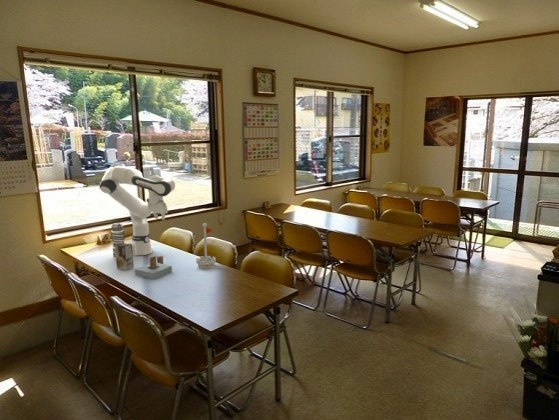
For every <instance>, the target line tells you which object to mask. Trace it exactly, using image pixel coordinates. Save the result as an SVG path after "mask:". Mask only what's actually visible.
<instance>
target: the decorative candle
mask: <svg viewBox="0 0 559 420" xmlns="http://www.w3.org/2000/svg"><path fill="white" fill-rule="evenodd" d="M110 227H111V231H110V236H111V242H112V257H113V260H116V250H115V245H118V244H120V243H125V240H126V239H125V231H124V225H123V224H122V223H121V222H115V223H112V225H111V226H110Z"/></svg>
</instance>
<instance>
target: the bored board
mask: <svg viewBox="0 0 559 420" xmlns="http://www.w3.org/2000/svg"><path fill="white" fill-rule="evenodd" d="M156 263H157V262H156ZM172 272H173V266H172V265H170V264H165V263H163V264H161V263H157V268H156V269H150V263H147V264H144V265H142V266H139V267H137V268H135V269H134V273H135V274H134V275H135V276H137V277H141V278H146V279H151V280H156V279H158V278H160V277H162V276H165V275H168V274H170V273H172Z"/></svg>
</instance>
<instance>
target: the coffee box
mask: <svg viewBox="0 0 559 420" xmlns="http://www.w3.org/2000/svg"><path fill="white" fill-rule="evenodd" d="M115 250H116V259H115V260H116V269H119V270H120V269H121V270H124V271H125V270H127V271H128V270H130V269H133V268H134V256H133V253H132V244H127V243H125V242H124V243H120V244H118V245H115Z"/></svg>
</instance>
